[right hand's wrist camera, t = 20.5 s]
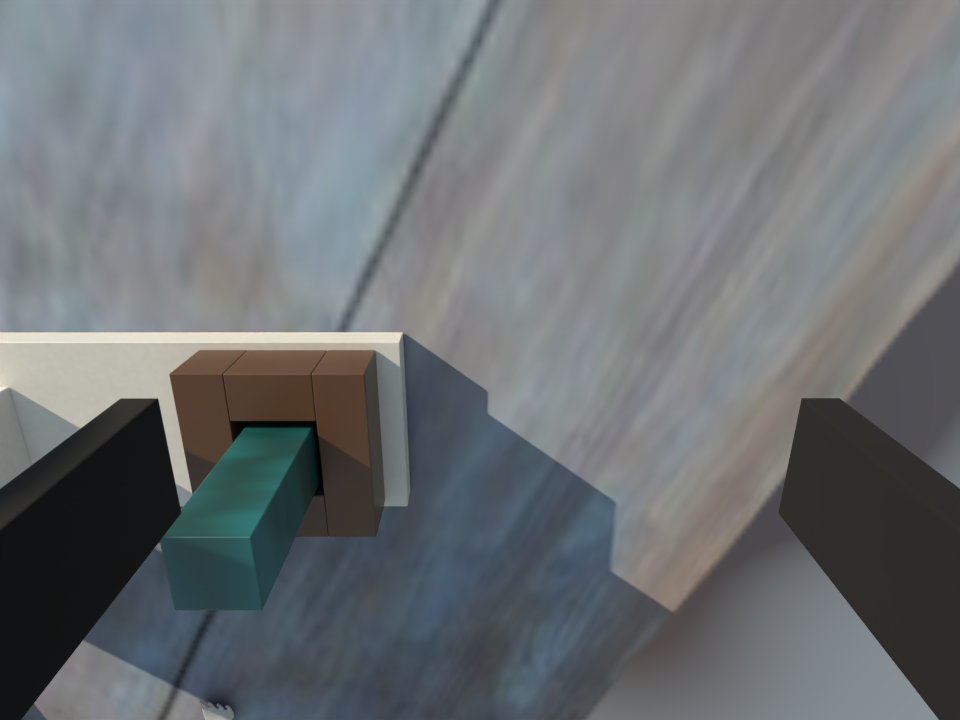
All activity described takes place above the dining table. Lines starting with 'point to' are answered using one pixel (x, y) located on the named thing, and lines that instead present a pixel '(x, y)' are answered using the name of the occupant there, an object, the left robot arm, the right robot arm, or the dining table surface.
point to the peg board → (143, 371)
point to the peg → (243, 518)
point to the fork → (216, 712)
